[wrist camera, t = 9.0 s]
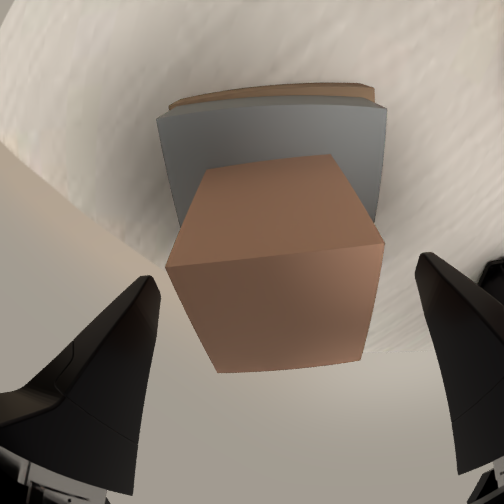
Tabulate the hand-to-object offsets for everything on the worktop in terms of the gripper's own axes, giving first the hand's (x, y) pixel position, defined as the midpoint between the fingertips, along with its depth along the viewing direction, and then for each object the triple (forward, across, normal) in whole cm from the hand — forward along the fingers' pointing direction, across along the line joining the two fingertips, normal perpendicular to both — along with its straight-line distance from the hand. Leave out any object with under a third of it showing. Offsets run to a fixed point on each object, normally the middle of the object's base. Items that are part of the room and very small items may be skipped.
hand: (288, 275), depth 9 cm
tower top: (+7, 0, 0) cm, 7 cm away
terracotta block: (+4, 0, 0) cm, 4 cm away
